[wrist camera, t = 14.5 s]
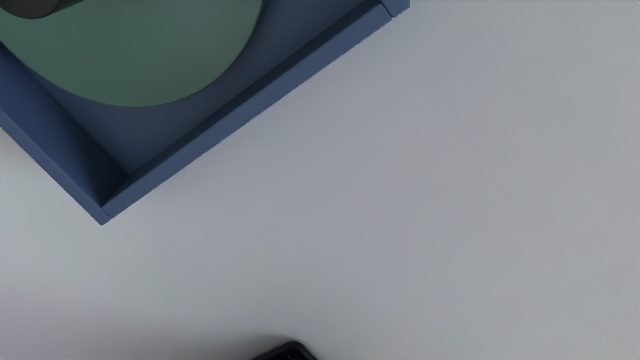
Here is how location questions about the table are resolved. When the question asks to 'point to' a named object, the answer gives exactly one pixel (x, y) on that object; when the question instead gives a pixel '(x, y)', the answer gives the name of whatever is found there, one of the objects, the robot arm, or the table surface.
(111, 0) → the lid
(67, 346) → the table surface
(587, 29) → the table surface
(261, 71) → the tray
